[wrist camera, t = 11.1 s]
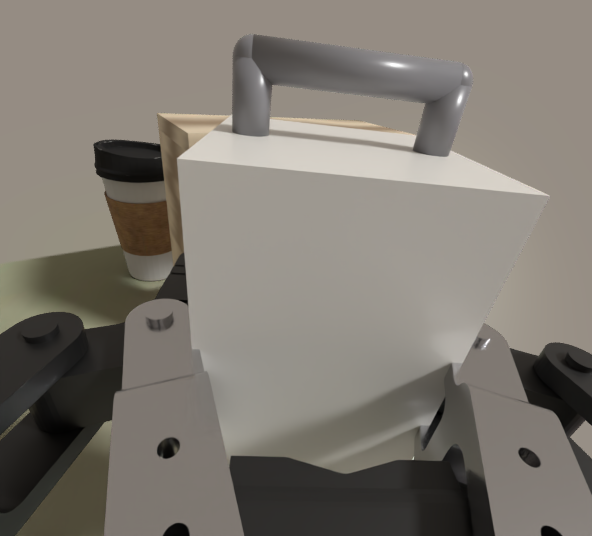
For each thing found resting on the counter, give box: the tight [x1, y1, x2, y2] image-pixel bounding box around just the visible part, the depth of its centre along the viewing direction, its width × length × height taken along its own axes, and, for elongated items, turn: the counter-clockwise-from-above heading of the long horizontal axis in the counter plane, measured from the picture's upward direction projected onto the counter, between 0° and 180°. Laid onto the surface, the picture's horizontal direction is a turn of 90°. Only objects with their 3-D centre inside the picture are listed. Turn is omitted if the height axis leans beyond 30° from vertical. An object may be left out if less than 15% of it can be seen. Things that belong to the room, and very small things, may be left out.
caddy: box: [177, 34, 550, 474], centre depth 9 cm, size 5×5×13 cm
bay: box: [157, 113, 414, 266], centre depth 33 cm, size 8×22×19 cm, turn 122°
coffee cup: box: [94, 140, 173, 281], centre depth 37 cm, size 8×8×15 cm
